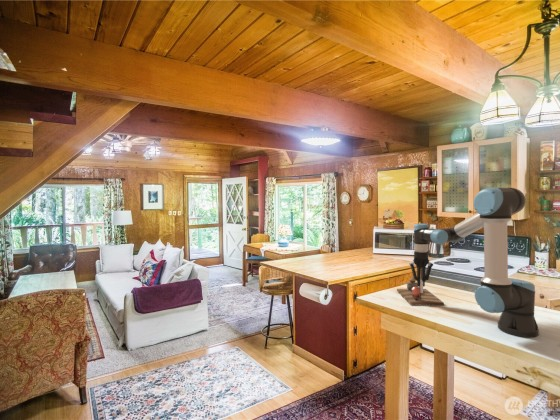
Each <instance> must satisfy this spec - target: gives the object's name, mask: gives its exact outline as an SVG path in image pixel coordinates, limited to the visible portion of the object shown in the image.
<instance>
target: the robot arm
mask: <svg viewBox="0 0 560 420" xmlns="http://www.w3.org/2000/svg"><path fill="white" fill-rule="evenodd" d="M526 199H527V198H526V196H525V193H523V192H522V191H521V190H520V189H518V188H514V187H488V188H487V187H486V188H483V189H481V190H480V191H478V192H477V194H476V195H475V196H474V199H473V207H474V208H473V209H474V210H475V212H476V213H474V214H473V215H471V216H469V217H467V218H465V219H463V220H462V221H461V222H459V223H457V224H455V225H454V226H452V227H448V228H430V227H429V224H427V223H415V224H414V228H413V249H414V250H413V260H412V262H409V266H410V268H411V273H412V277H414V279H415V280H416V282H417V286H418V287H420V293H423V289H424V287H425V284H426V281H428V280H429V277H430V275H431V272H432V271H431V270H432V267H433V266H434V263H432V262H430V260H429V243H431V244H437V245H444V244H445V243H453V242H454V243H455V242H456V243H458V242H462V241H465V238H466V237H467V236H469V235H472V234H473V233H475V232H478V231H479V230H482V229H483V248H484V249H483V254H484V255H483V258H484V259H483V260H484V261H483V262H484V266H483V267H484V268H483V269H484V273H483V274H484V275H483V277H481V278H480V285H479V286H478V287H477V288H476V289H475V290H474V299H475V301H476V302H475V303H477V305H478V306H479V307H480V308H481V309H482V310H483V311H484V312H486V313H490V314H500V316H499V318H498V319H497V328H498V329H499V330H500V331H502V332H503V333H506V334H508V335H511V336H517V337H520V338H521V337H522V338H535V337H538V336H539V334H540V333H539V332H540V331H539V327H538V323H537V320H536V317H535V305H536V304H535V303H536V301H535V300H536V299H535V298H536V286H535V284H534V283H533V282H530V281H527V280H525V279H523V280H522V279H517V278H511V277H509V272H508V270H509V262H508V261H509V260H508V259H509V258H508V255H509V254H508V253H509V252H508V245H509V244H508V223H509V222H510V221H511V220H512V219H513V218H512V216H514V215H516V214H518V213H519V212H521V211H523V209H524V208H525V206H526V203H527V201H526ZM415 266H416V269H415ZM426 267H427V268H426Z"/></svg>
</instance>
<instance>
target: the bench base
mask: <svg viewBox="0 0 560 420" xmlns="http://www.w3.org/2000/svg"><path fill="white" fill-rule="evenodd" d="M408 280H409V281H407V282H406V288H397V289H396V292H397V293H398V294H399V295H400V296H401V297H402V298H403V300H405V301H406V303H408V304H409V305H410V306H444V305H445V303H444V302H443V301H442V300H441V299H440V298H439V297H437V296H436V295H434V294H433V292H431V291H429V290H428V289H427V288H423V293H420V297H419V298H418V299H414V297H413V296H412V292H411V287H414V286H416V287H418V286H417V280H415V279H414V277H413V276H411V277H409V279H408Z"/></svg>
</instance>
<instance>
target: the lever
mask: <svg viewBox="0 0 560 420" xmlns="http://www.w3.org/2000/svg"><path fill="white" fill-rule="evenodd" d="M411 292H412V296H413V297H414V299H418V298H419V297H420V287H416V286H414V287H411Z"/></svg>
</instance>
